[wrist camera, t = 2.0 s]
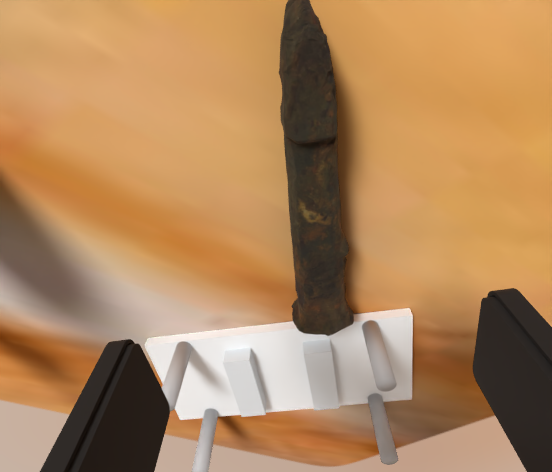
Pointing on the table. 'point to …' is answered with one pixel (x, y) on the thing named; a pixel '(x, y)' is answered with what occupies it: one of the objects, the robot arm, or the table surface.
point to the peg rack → (287, 372)
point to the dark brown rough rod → (312, 173)
